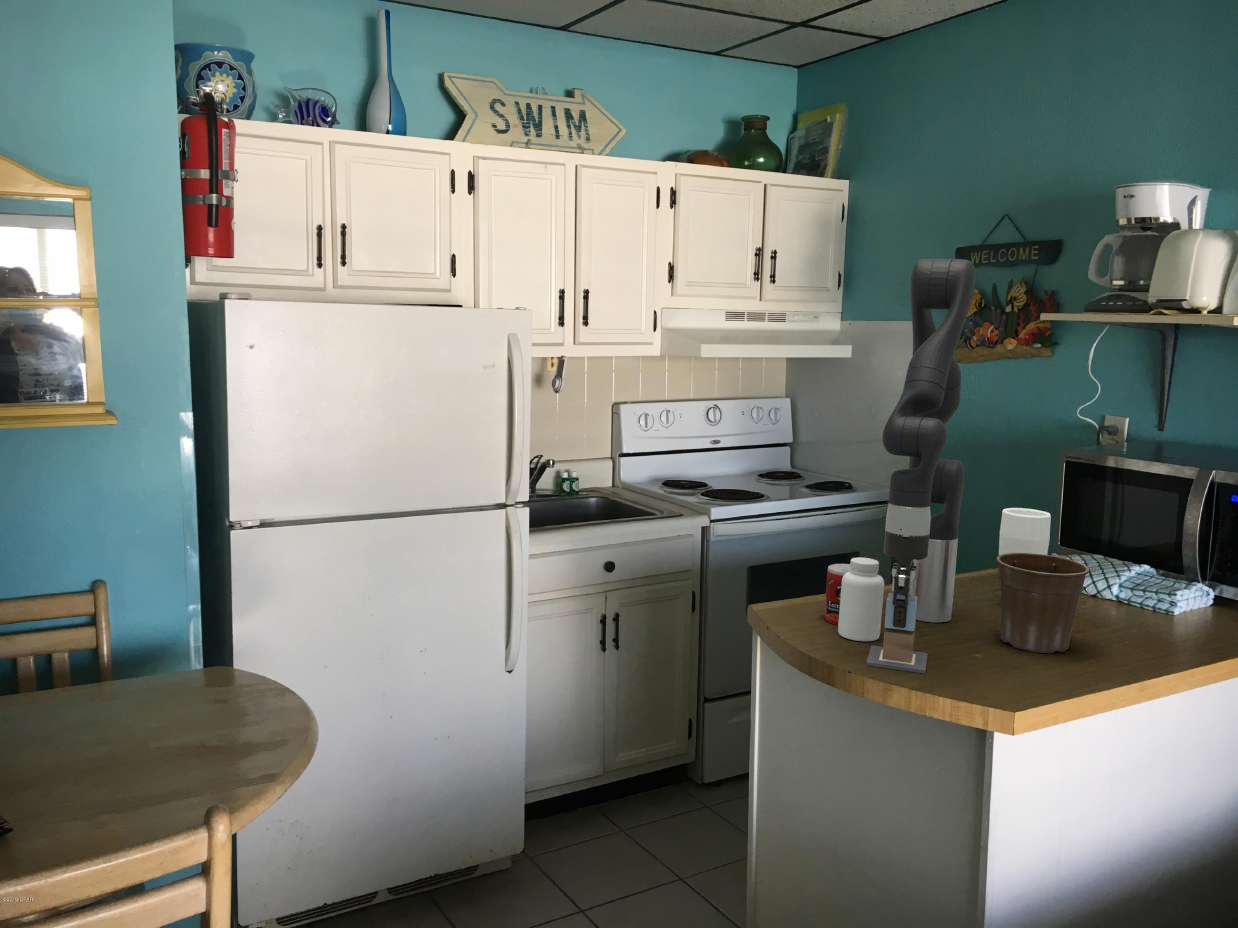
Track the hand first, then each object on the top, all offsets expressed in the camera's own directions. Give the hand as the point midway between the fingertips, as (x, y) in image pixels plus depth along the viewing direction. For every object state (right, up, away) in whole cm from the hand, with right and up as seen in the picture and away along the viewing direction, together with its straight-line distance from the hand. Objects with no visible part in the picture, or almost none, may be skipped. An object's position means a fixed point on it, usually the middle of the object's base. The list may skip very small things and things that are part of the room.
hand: (900, 622), depth 174 cm
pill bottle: (-4, -5, +15) cm, 16 cm away
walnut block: (0, -6, +1) cm, 6 cm away
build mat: (0, -7, +1) cm, 7 cm away
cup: (+36, -3, +38) cm, 52 cm away
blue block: (0, 0, 0) cm, 1 cm away
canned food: (-5, -4, +25) cm, 25 cm away
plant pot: (+30, -7, +14) cm, 33 cm away
